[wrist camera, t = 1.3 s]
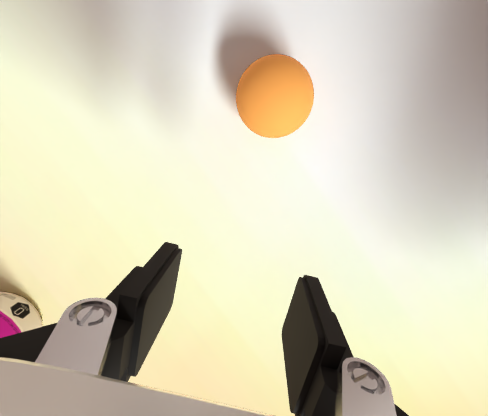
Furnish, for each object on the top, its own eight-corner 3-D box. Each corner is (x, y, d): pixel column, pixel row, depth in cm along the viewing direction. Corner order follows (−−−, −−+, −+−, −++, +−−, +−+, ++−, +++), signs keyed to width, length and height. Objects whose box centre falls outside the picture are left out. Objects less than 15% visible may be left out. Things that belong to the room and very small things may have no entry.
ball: (315, 74, 23) (333, 54, 17) (295, 144, 24) (307, 147, 19) (247, 58, 23) (243, 32, 17) (232, 129, 24) (224, 127, 19)
